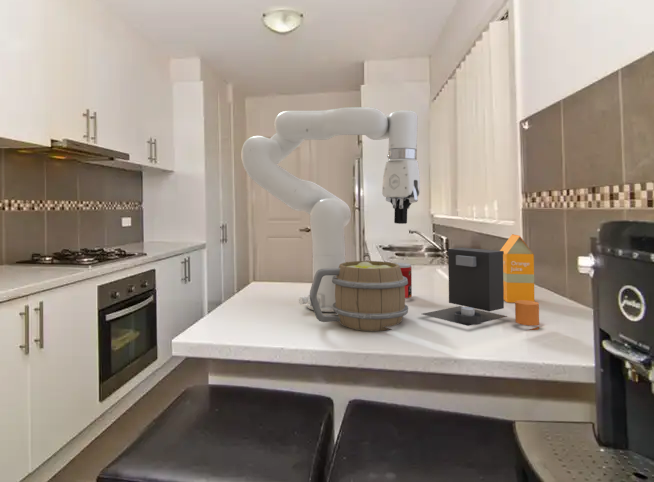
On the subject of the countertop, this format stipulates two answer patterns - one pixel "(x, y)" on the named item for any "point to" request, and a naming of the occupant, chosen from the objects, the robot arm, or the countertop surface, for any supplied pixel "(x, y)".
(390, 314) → the mug
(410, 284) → the canned food
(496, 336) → the countertop surface
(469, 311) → the button
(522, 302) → the container
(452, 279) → the coffee maker
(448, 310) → the base
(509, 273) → the orange juice
